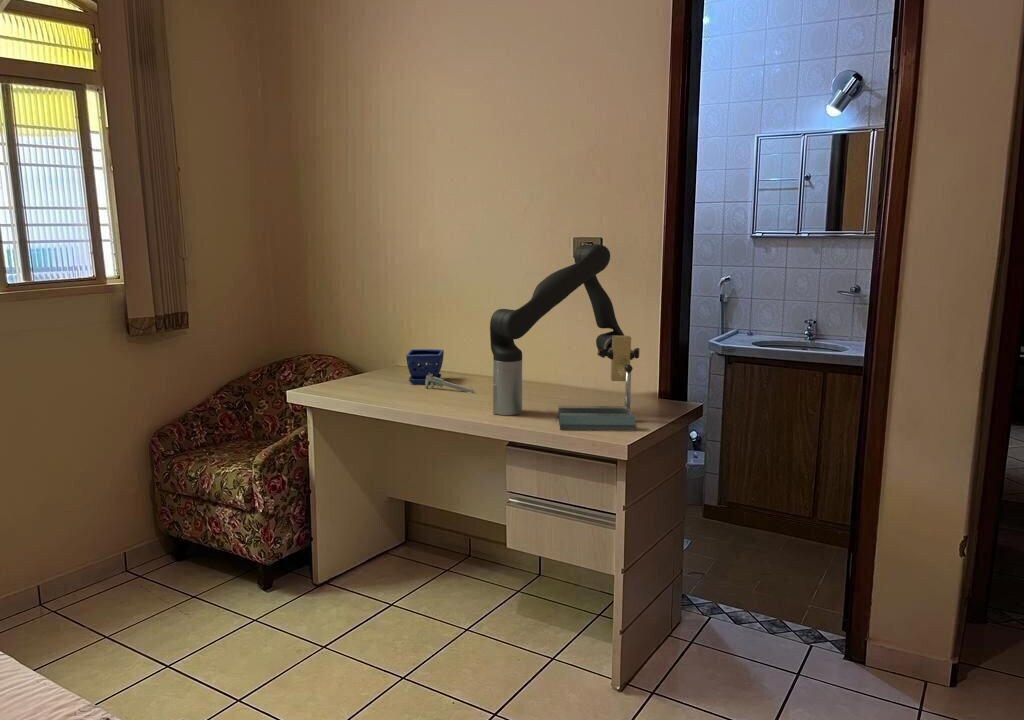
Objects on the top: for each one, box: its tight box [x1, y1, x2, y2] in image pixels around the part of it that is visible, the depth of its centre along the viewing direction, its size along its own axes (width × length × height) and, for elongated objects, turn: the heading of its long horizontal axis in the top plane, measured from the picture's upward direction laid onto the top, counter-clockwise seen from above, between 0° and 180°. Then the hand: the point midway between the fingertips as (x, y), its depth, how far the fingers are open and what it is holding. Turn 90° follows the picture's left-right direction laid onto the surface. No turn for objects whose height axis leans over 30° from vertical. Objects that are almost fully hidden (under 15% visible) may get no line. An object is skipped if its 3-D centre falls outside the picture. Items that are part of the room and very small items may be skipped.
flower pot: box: [405, 348, 445, 385], centre depth 303 cm, size 13×13×12 cm
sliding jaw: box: [557, 364, 633, 417], centre depth 243 cm, size 4×22×16 cm, turn 89°
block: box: [610, 335, 632, 382], centre depth 250 cm, size 4×6×14 cm
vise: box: [557, 413, 636, 431], centre depth 239 cm, size 16×22×4 cm
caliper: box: [424, 373, 476, 394], centre depth 287 cm, size 20×1×6 cm, turn 67°
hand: (621, 356), depth 248 cm, fingers closed on block, 5 cm apart
